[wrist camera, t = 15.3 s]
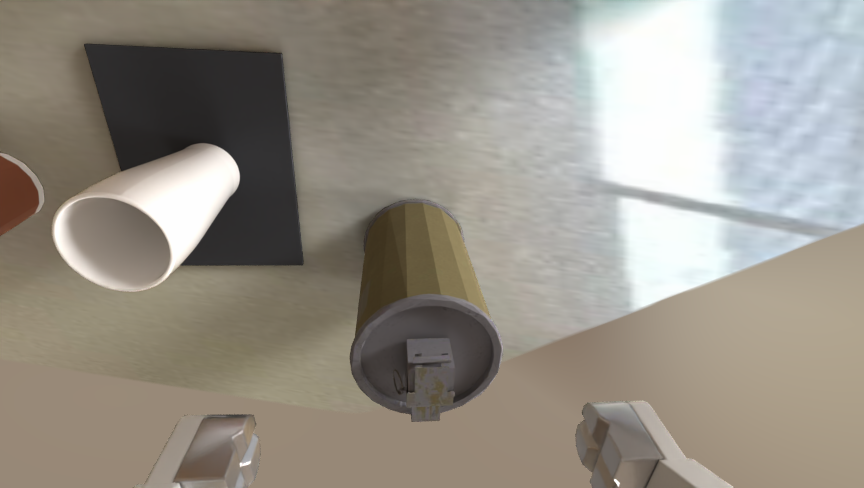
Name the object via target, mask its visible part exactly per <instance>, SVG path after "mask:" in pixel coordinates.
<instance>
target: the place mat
mask: <svg viewBox="0 0 864 488" xmlns="http://www.w3.org/2000/svg"><path fill="white" fill-rule="evenodd" d="M84 46H85V49H86V53H87V56H88V60H89V63H90V66H91V70H92V73H93V77H94V80H95V83H96V87H97V90H98V94H99V97H100V100H101V104H102V107H103V110H104V114H105V117H106V121H107V124H108V127H109V131H110V134H111V138H112V141H113V144H114V148H115V151H116V155H117V158H118V161H119V165H120V168H121V171H124V170H127V169H129V168H132V167H135V166H138V165H141V164H144V163H147V162H150V161H152V160H155V159H158V158H161V157H164V156H167V155H169V154H172V153H175V152H178V151H180V150H182V149H184V148H186V147H188V146H190V145H193V144H198V143H207V144H212V145H215V146H218V147H220V148H222V149H223V150H225V151H226V152H227V153H229V154H230V155H231V157H232V158H233V159H234V160H235V162H236V164H237V166H238V168H239V173H240V182H239V185H238V188H237V190H236V191H235V193H234V194H233V195H232V196H231V197H230V198H229V199H228V200H227V202H226V203H225V205H224V206H223V208H222V209H221V211H220V212H219V214H218V215H217V217H216V218H215V220H214V221H213V223H212V224H211V226H210V227H209V229H208V230H207V232H206V233H205V235H204V236H203V238H202V239H201V241H200V242H199V244H198V245H197V246H196V248H195V249H194V250H193V251H192V253H191V254H190V255H189V256H188V257H187V258H186V259H185V260H184V261H183V263H182V264H181V265H303V264H304V263H303V253H302V243H301V233H300V224H299V214H298V204H297V194H296V184H295V175H294V165H293V155H292V145H291V135H290V126H289V116H288V106H287V96H286V86H285V77H284V67H283V57H282V53H264V52H244V51H224V50H204V49H184V48H164V47H143V46H123V45H103V44H84Z"/></svg>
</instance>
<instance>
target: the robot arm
mask: <svg viewBox="0 0 864 488" xmlns="http://www.w3.org/2000/svg"><path fill="white" fill-rule="evenodd" d="M582 415H583V417H584V419H585V420H583V421H582V422H581V423H580V424H578V426H577V430H576V434H575V437H576V447H577V451H578V455H579V457H580V460H581V462H582V464H583V465H584V466H585V467H586V468H587V469H588V470H590V471H591V472H592V475H591V479H590V483H591V486H592V488H734V487H732V486H731V485H730V484H728V483H727V482H725V481H724V480H722V479H721V478H720V477H718V476H717V475H715V474H714V473H712V472H711V471H709V470H708V469H707V468H705V467H704V466H702V465H701V464H700V463H698V462H697V461H695V460H694V459H687V458H686V457H685V456H684V454H683V453H682V451H681V450H680V448H679V447H678V445H677V444H676V442H675V441H674V439H673V438H672V436H671V435H670V433H669V432H668V431H667V429H666V428H665V426H664V425H663V423H662V422H661V420H660V419H659V417H658V416H657V414H656V413H655V412H654V410H653V408H652V407H651V406H650V405H649V403H647V402H646V401H625V402H624V401H614V402H594V403H587V404H586V405H584V408H583V410H582ZM255 426H256V422H255V418H254V415H185V416H183V417H182V418H181V419H180V420H179V422H178V423H177V424H176V426H175V428H174V430H173V432H172V434H171V436H170V437H169V439H168V441H167V443H166V445H165V447H164V448H163V451H162V452H161V454H160V456H159V458H158V459H157V462H156V463H155V465H154V467H153V469H152V471H151V472H150V474H149V476H148V478H147V480H146V482H145V483H144V484H139V485H136V486H134V487H133V488H247V487H248V486H249V485H250V484H251V483H252V482H253V481H254V480H255V478H256V475H257V471H258V467H259V462H260V455H261V448H260V440H259V437H258V436H257V435H256V434H254V433H253V432H254V430H255Z"/></svg>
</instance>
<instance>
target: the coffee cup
mask: <svg viewBox="0 0 864 488" xmlns="http://www.w3.org/2000/svg"><path fill="white" fill-rule="evenodd" d="M44 201H45V200H44V189H43V187H42V185H41V183H40V181H39V180H38V178H37V176H36V175H35V174H34V173H33V172H32V171H31V170H30V169H29V168H28V167H27V166H26V165H25V164H24V163H22V162H21V161H19V160H17V159H15V158H13V157H12V156H10V155H8V154H4V153H0V236H1V235H3V234H4V233H6V232H7V231H9V230H10V229H12V228H14V227H15V226H17V225H18V224H20V223H21V222H23V221H24V220H26V219H27V218H29V217H31V216H33V215H34V214H36V213H38V212H39V211H40V209H41V207H42V205H43V203H44Z"/></svg>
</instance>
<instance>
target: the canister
mask: <svg viewBox="0 0 864 488" xmlns="http://www.w3.org/2000/svg"><path fill="white" fill-rule="evenodd" d="M364 253H365V256H364V264H363V273H362V282H361V290H360V299H359V307H358V316H357V324H356V333H355V339H354V341H353V343H352V346H351V352H350V364H351V371H352V375H353V377H354V379H355V381H356V383H357V384H358V386H359V388H360V389H361V390H362V391H363V392H364V393H365V394H366V395H367V396H368V397H369V398H370V399H371V400H372V401H374V402H376V403H378V404H380V405H382V406H384V407H386V408H388V409H390V410H393V411H397V412H400V413H406V414H411V419H412V422H421V421H439V420H440V413H442V412H445V411H449V410H452V409H455V408H457V407H460V406H462V405H464V404H466V403H467V402H469V401H471V400H472V399H474V398H476V397H477V396H479V395H481V394H482V393H483V392H484V390H485V389H486V388H487V387H488V386H489V385H490V384H491V382H492V381H493V379H494V378H495V376H496V374H497V373H498V370H499V366H500V363H501V360H502V356H503V346H502V340H501V336H500V333H499V331H498V329H497V327H496V325H495V324H494V322H493V321H492V320H491V317H490V314H489V312H488V309H487V306H486V303H485V300H484V298H483V295H482V292H481V289H480V286H479V284H478V281H477V278H476V275H475V272H474V269H473V267H472V264H471V261H470V258H469V255H468V253H467V250H466V247H465V244H464V237H463V232H462V229H461V226H460V224H459V223H458V221H457V220H456V219H455V217H454V216H453V215H452V213H451V212H449V211H448V210H446V209H445V208H444V207H442V206H440V205H438V204H436V203H433V202H431V201H428V200H404V201H399V202H397V203H394V204H392V205H390V206H388V207H386V208H384V209H383V210H382V211H381V212H379V213H378V214H377V215H376V216H375V218H374V219H373V220H372V221H371V223H370V224H369V226H368V229H367V231H366V234H365V239H364Z"/></svg>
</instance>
